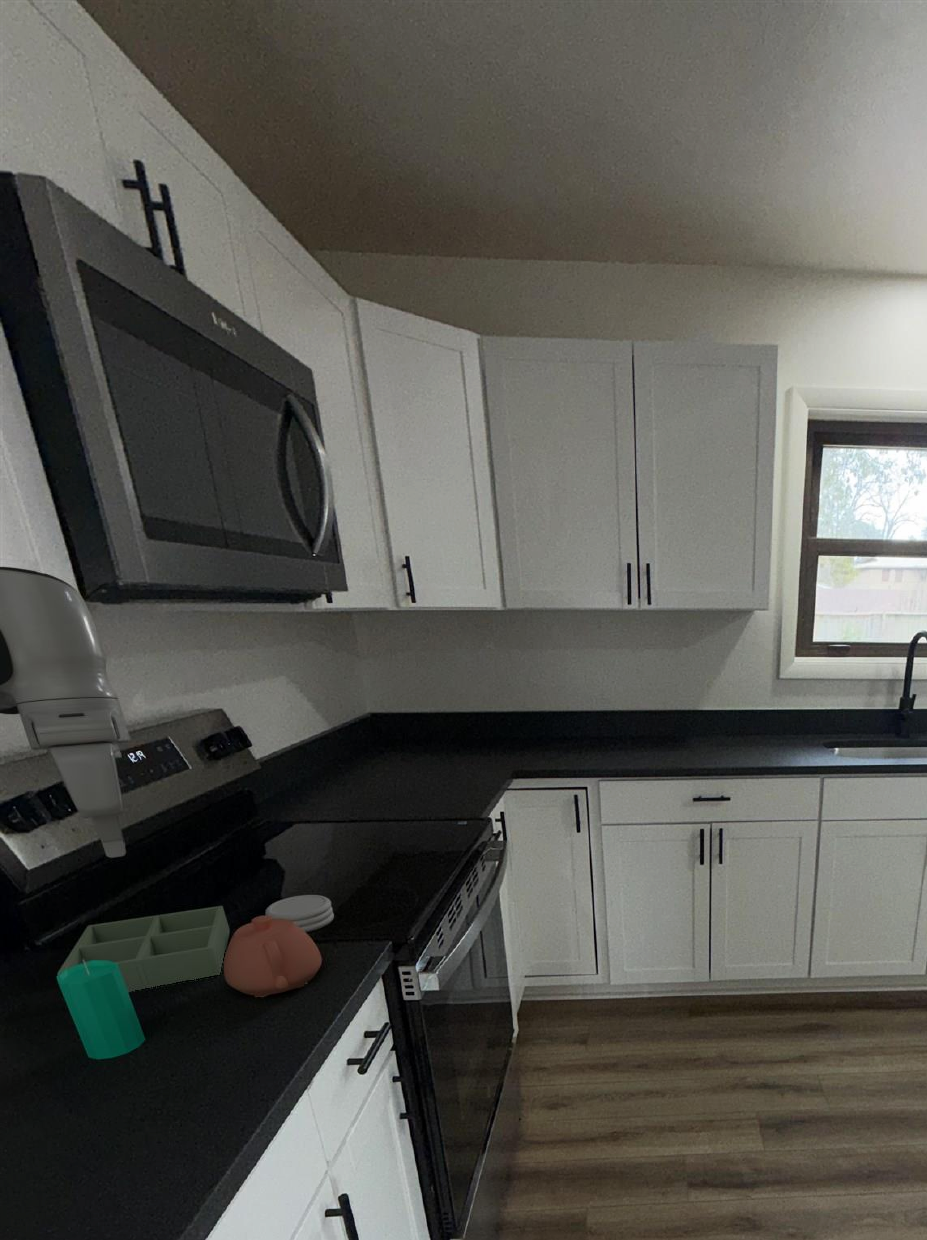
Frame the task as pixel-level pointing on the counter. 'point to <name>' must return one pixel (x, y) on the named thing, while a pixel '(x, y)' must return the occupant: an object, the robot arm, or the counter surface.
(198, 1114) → the counter surface
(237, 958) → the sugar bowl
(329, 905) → the grey round flat stack
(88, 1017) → the candle
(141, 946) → the grid
